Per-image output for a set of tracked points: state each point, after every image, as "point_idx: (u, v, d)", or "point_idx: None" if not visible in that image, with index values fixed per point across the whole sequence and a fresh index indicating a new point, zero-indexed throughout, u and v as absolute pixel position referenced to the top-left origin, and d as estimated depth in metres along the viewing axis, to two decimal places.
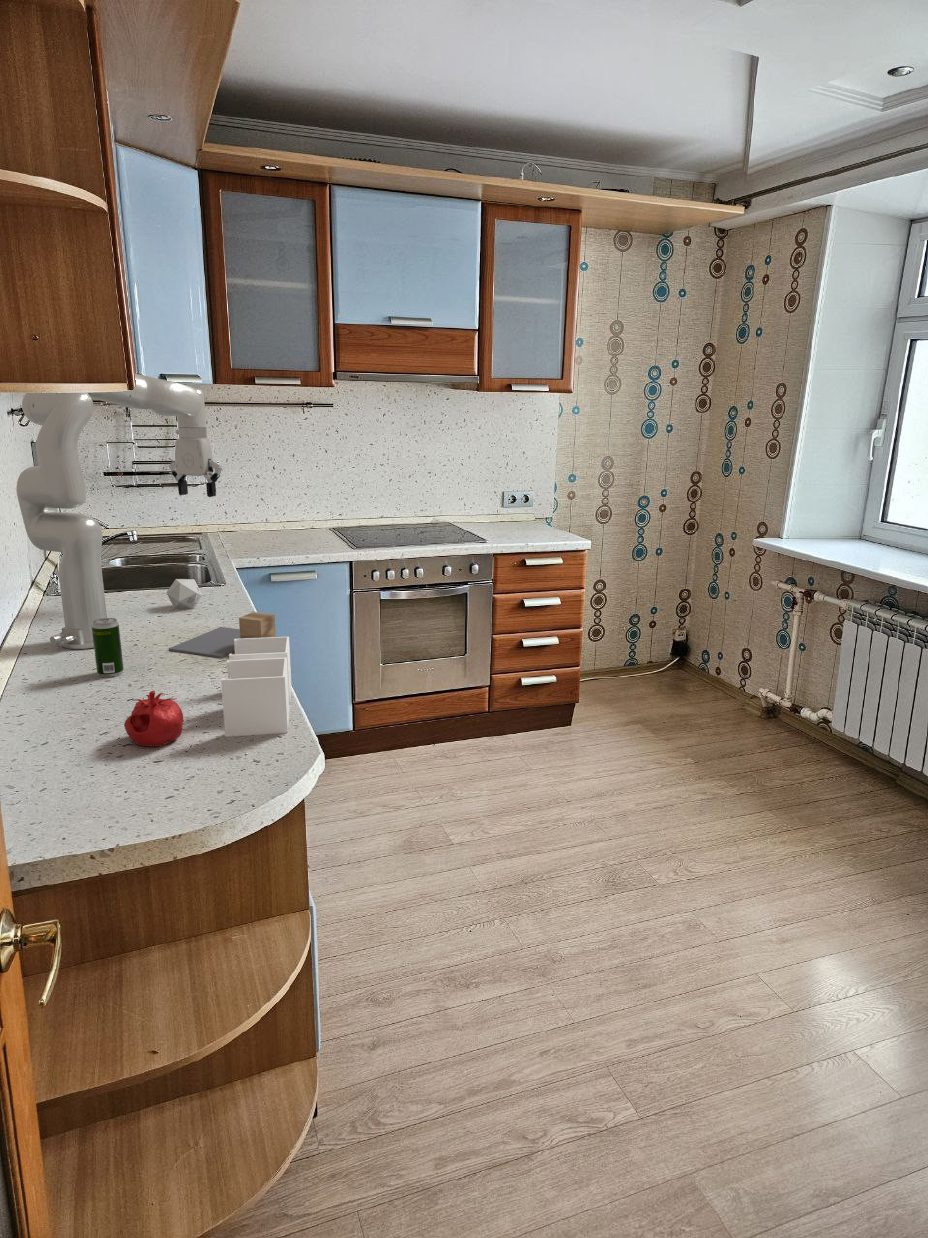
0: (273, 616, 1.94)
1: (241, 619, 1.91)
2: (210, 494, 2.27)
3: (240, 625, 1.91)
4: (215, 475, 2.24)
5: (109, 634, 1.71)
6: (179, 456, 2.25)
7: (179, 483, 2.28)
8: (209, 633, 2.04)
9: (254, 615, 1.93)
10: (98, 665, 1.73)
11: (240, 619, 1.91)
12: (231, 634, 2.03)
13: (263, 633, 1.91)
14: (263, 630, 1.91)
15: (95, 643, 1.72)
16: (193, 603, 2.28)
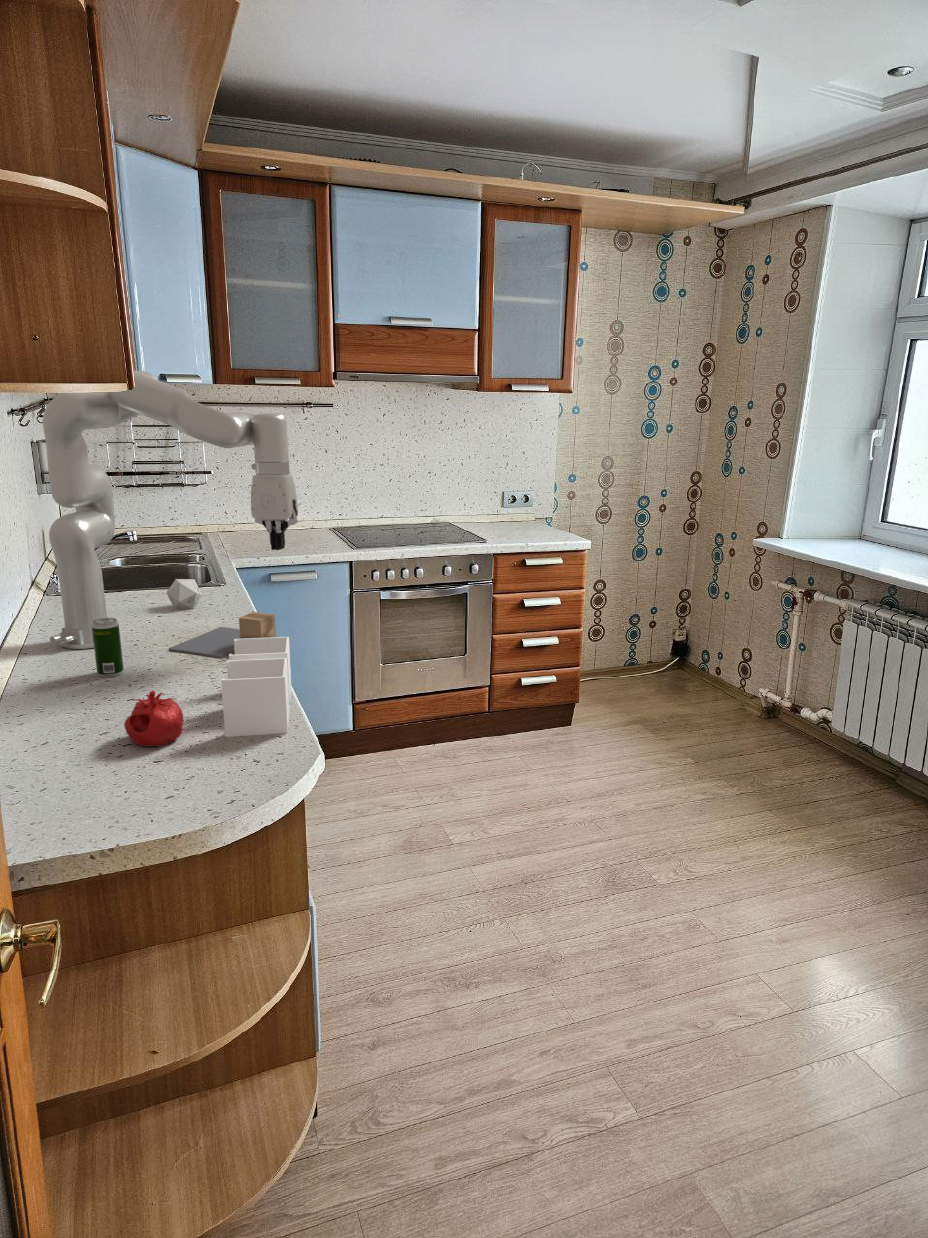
0: (273, 616, 1.94)
1: (241, 619, 1.91)
2: (278, 547, 1.86)
3: (240, 625, 1.91)
4: (285, 524, 1.84)
5: (109, 634, 1.71)
6: (256, 497, 1.83)
7: (272, 535, 1.85)
8: (209, 633, 2.04)
9: (254, 615, 1.93)
10: (98, 665, 1.73)
11: (240, 619, 1.91)
12: (231, 634, 2.03)
13: (263, 633, 1.91)
14: (263, 630, 1.91)
15: (95, 643, 1.72)
16: (193, 603, 2.28)
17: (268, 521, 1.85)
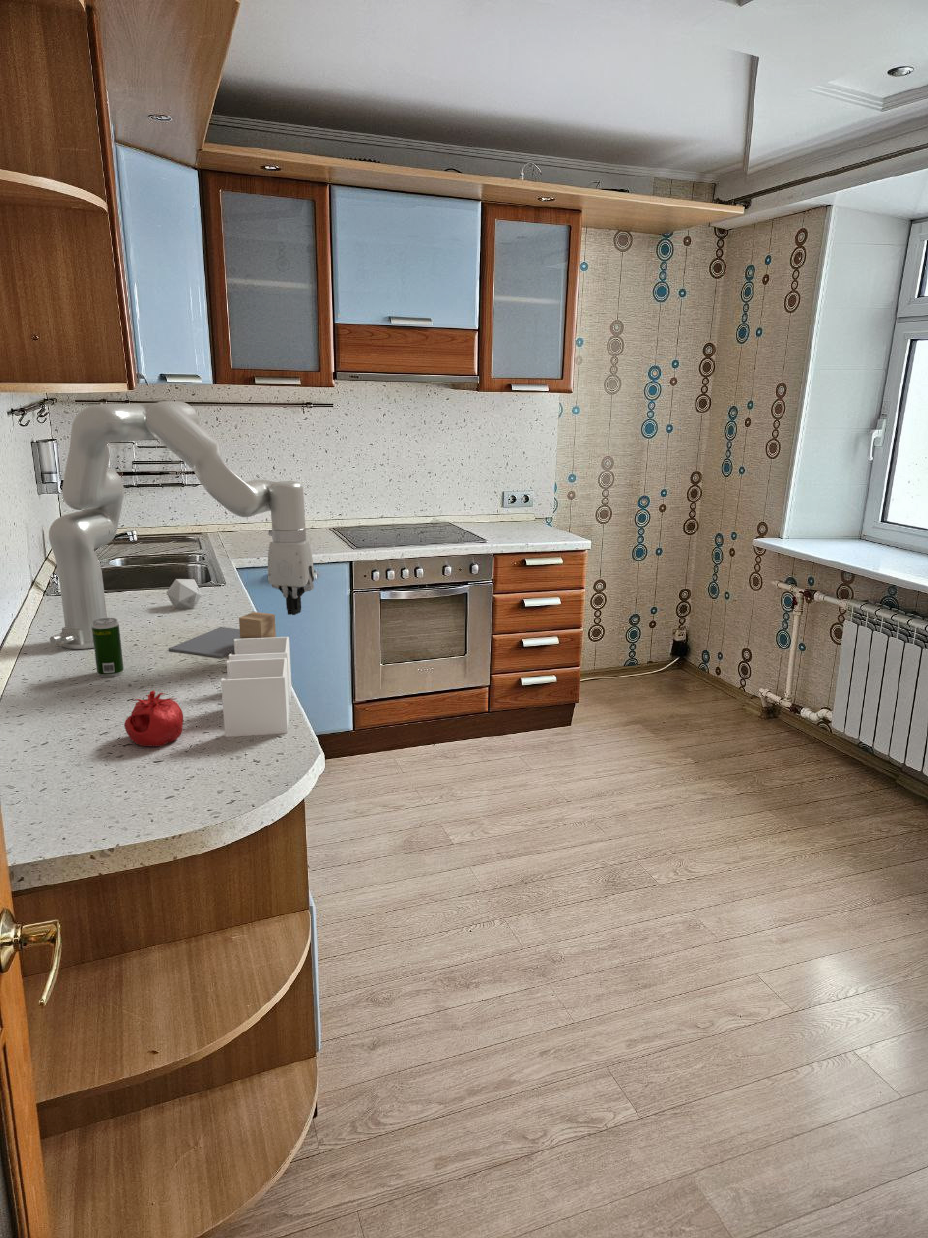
0: (273, 616, 1.94)
1: (241, 619, 1.91)
2: (295, 612, 1.88)
3: (240, 625, 1.91)
4: (301, 590, 1.85)
5: (109, 634, 1.71)
6: (273, 563, 1.84)
7: (288, 601, 1.87)
8: (209, 633, 2.04)
9: (254, 615, 1.93)
10: (98, 665, 1.73)
11: (240, 619, 1.91)
12: (231, 634, 2.03)
13: (263, 633, 1.91)
14: (263, 630, 1.91)
15: (95, 643, 1.72)
16: (193, 603, 2.28)
17: (285, 587, 1.86)
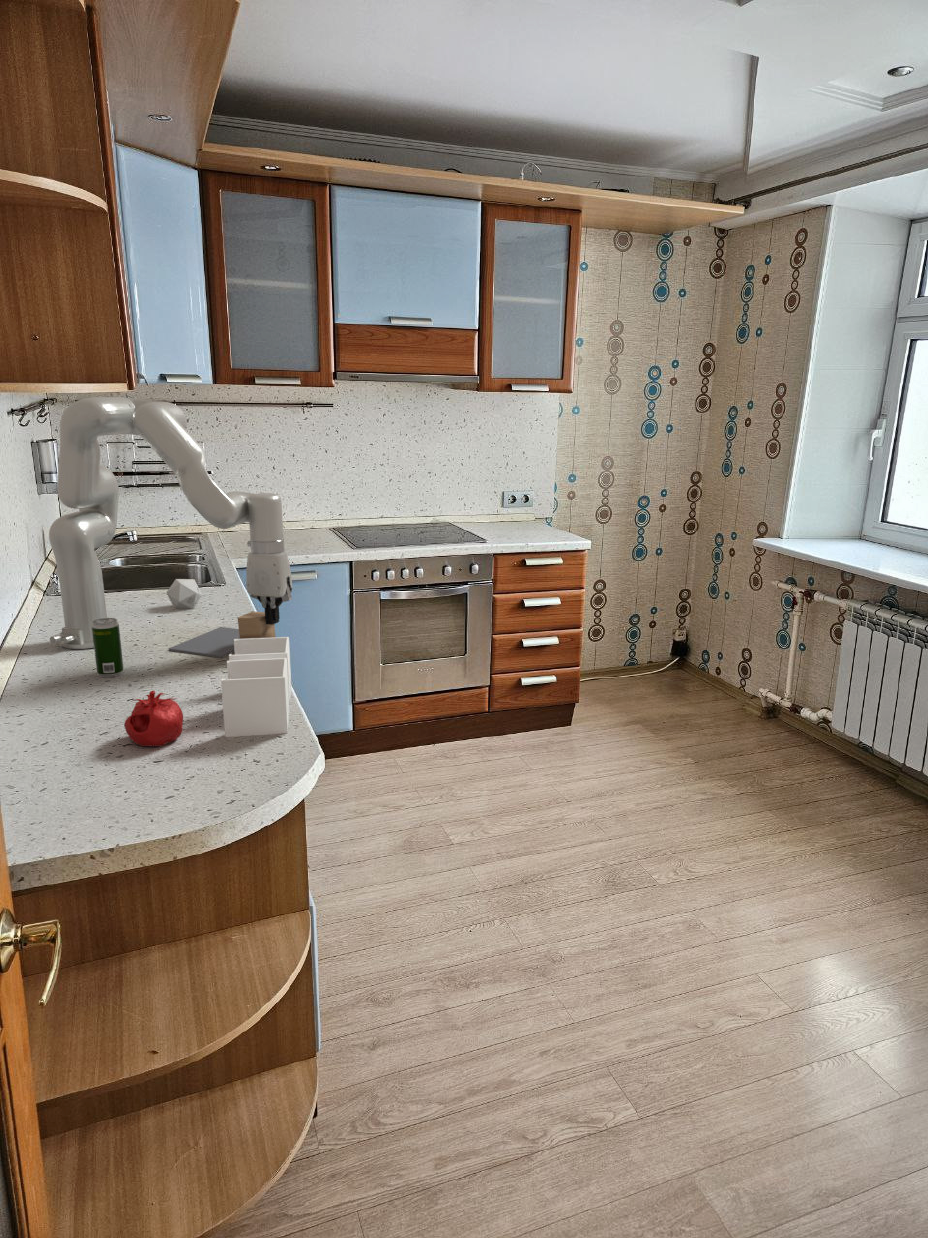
0: None
1: (240, 619, 1.91)
2: (273, 621, 1.90)
3: (239, 625, 1.91)
4: (279, 600, 1.88)
5: (109, 634, 1.71)
6: (252, 574, 1.87)
7: (267, 611, 1.89)
8: (209, 633, 2.04)
9: (252, 614, 1.93)
10: (98, 665, 1.73)
11: (239, 619, 1.91)
12: (231, 634, 2.03)
13: (263, 631, 1.91)
14: (262, 628, 1.91)
15: (95, 643, 1.72)
16: (193, 603, 2.28)
17: (263, 597, 1.89)
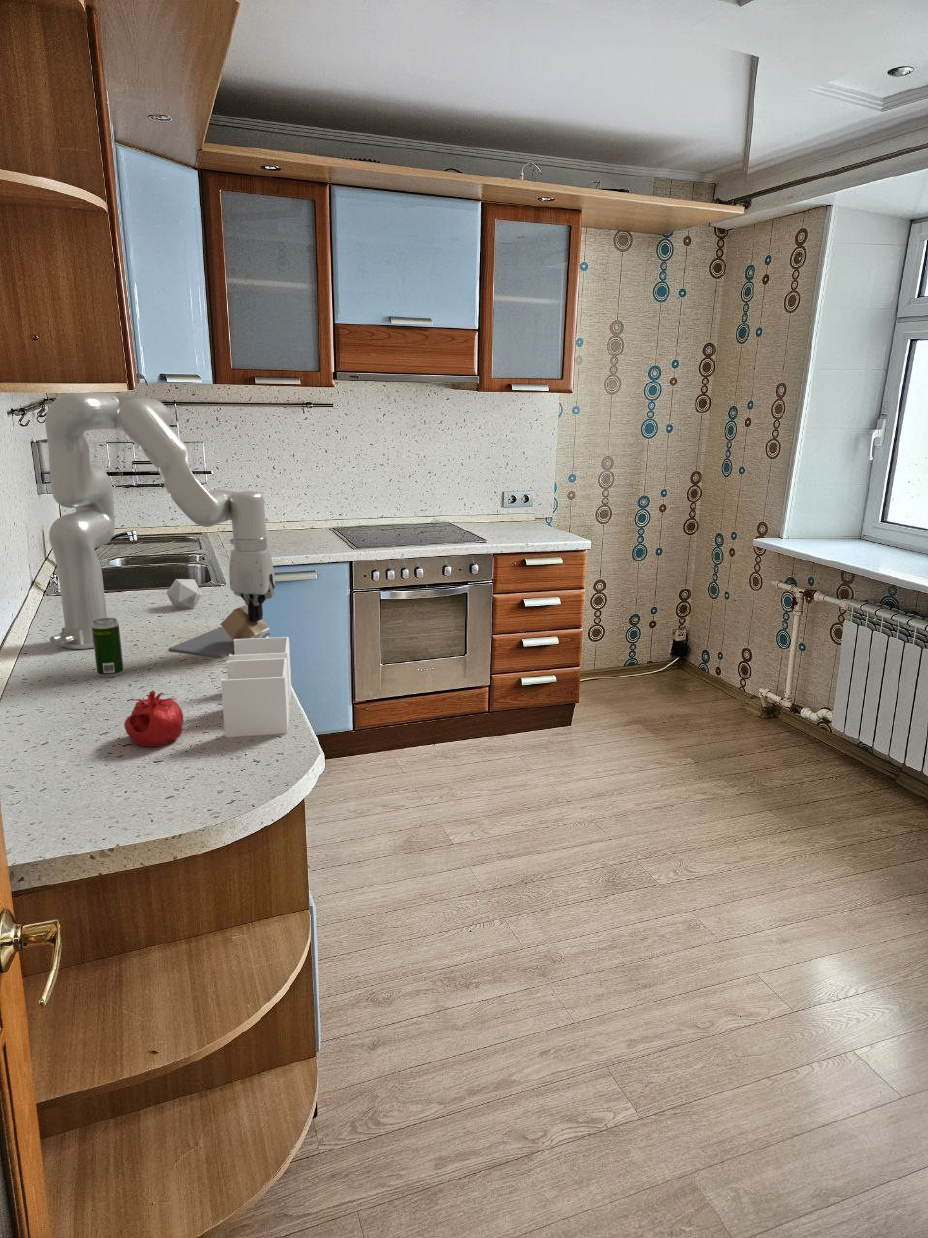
0: None
1: (222, 623, 1.93)
2: (256, 618, 1.92)
3: (225, 629, 1.93)
4: (262, 597, 1.90)
5: (109, 634, 1.71)
6: (234, 571, 1.88)
7: (250, 608, 1.91)
8: (209, 633, 2.04)
9: None
10: (98, 665, 1.73)
11: (222, 624, 1.93)
12: None
13: (246, 619, 1.92)
14: (244, 616, 1.92)
15: (95, 643, 1.72)
16: (193, 603, 2.28)
17: (246, 594, 1.91)
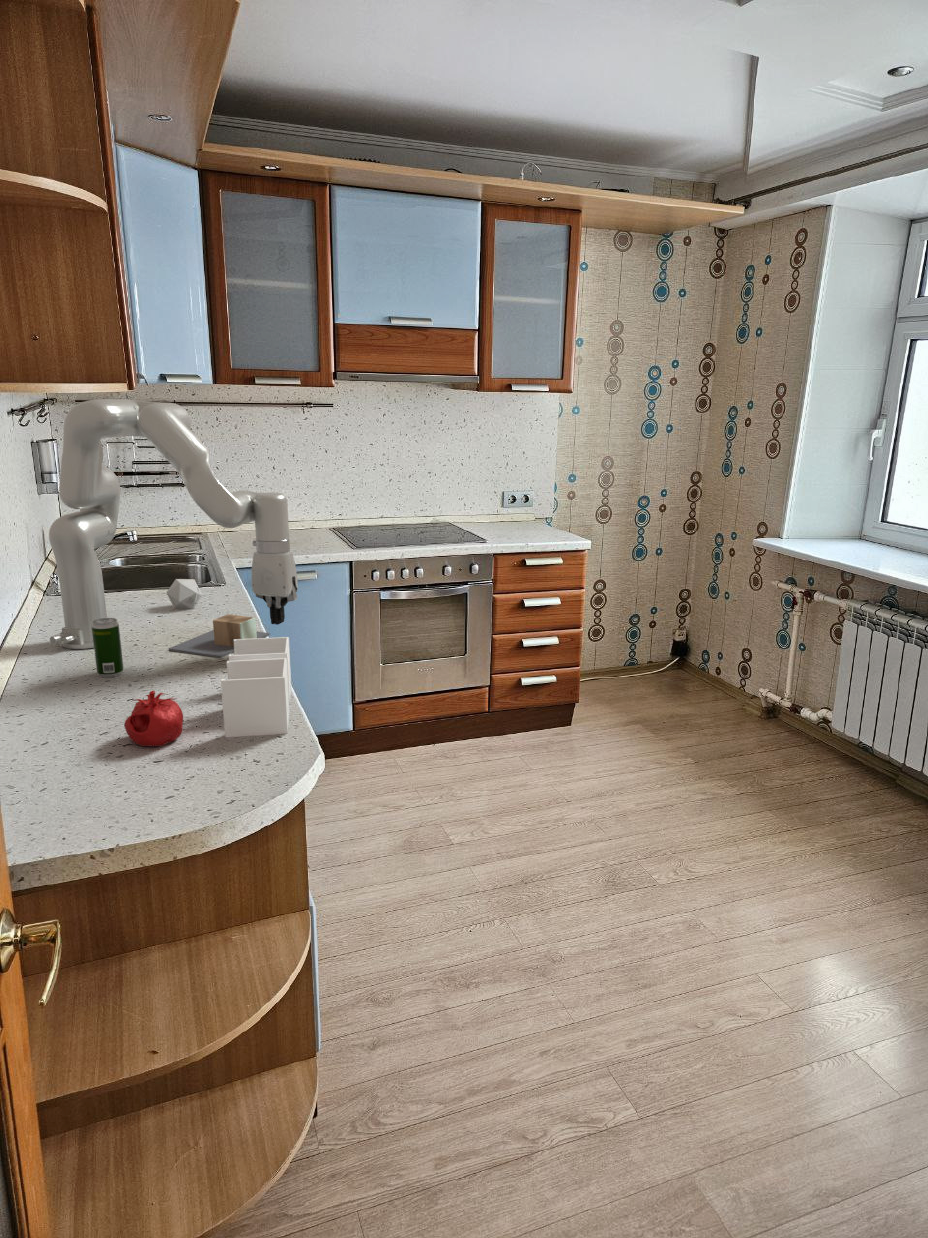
0: (227, 615, 1.98)
1: (215, 641, 1.95)
2: (278, 621, 1.90)
3: (220, 643, 1.95)
4: (285, 600, 1.88)
5: (109, 634, 1.71)
6: (257, 573, 1.86)
7: (272, 610, 1.89)
8: (209, 633, 2.04)
9: None
10: (98, 665, 1.73)
11: (215, 642, 1.95)
12: None
13: (227, 620, 1.94)
14: (225, 620, 1.94)
15: (95, 643, 1.72)
16: (193, 603, 2.28)
17: (268, 596, 1.88)
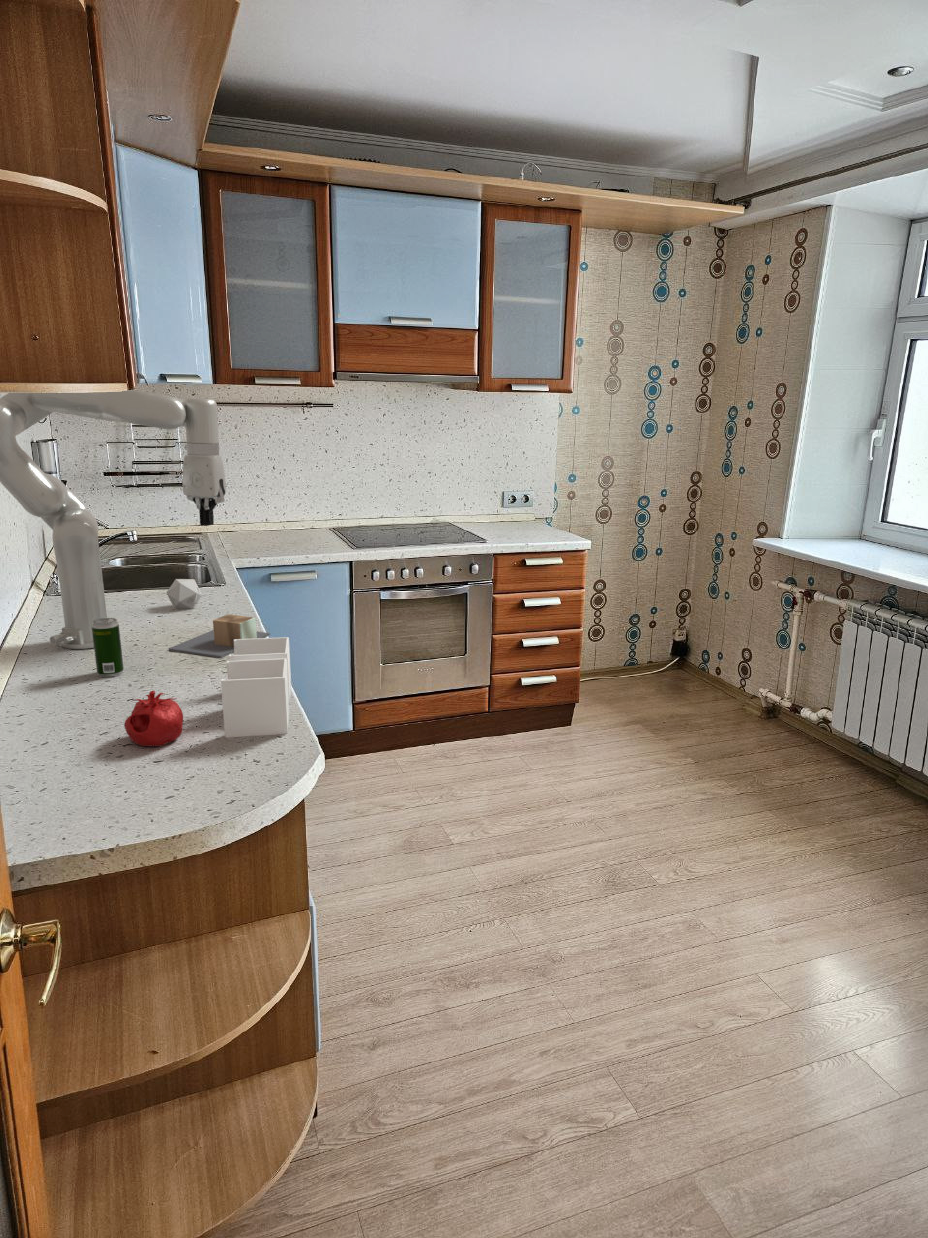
0: (227, 615, 1.98)
1: (215, 641, 1.95)
2: (207, 523, 2.00)
3: (220, 643, 1.95)
4: (212, 502, 1.98)
5: (109, 634, 1.71)
6: (187, 475, 1.97)
7: (201, 512, 1.99)
8: (209, 633, 2.04)
9: None
10: (98, 665, 1.73)
11: (215, 642, 1.95)
12: None
13: (227, 620, 1.94)
14: (225, 620, 1.94)
15: (95, 643, 1.72)
16: (193, 603, 2.28)
17: (198, 498, 1.99)
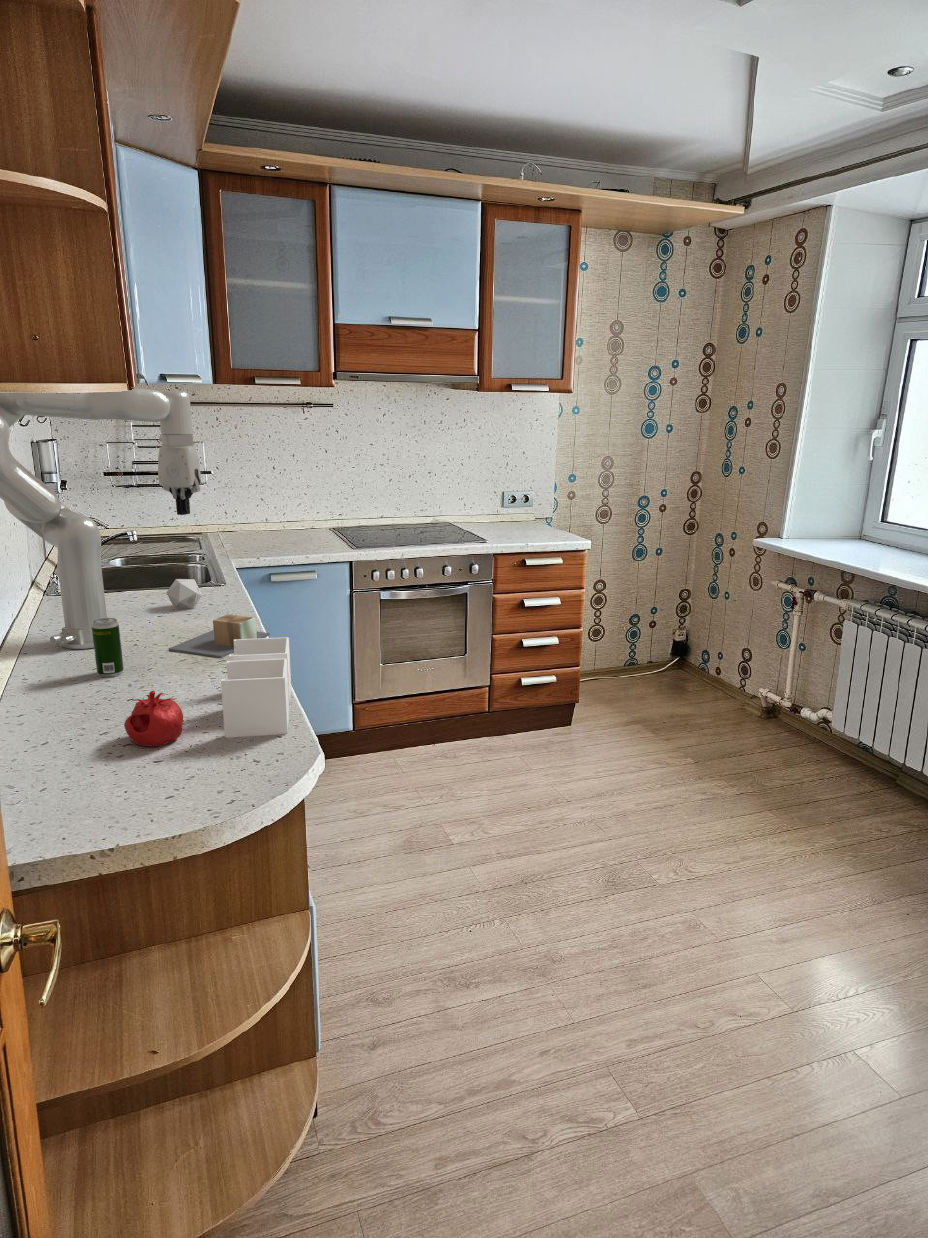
0: (227, 615, 1.98)
1: (215, 641, 1.95)
2: (183, 512, 2.06)
3: (220, 643, 1.95)
4: (188, 491, 2.04)
5: (109, 634, 1.71)
6: (162, 466, 2.03)
7: (177, 501, 2.05)
8: (209, 633, 2.04)
9: None
10: (98, 665, 1.73)
11: (215, 642, 1.95)
12: None
13: (227, 620, 1.94)
14: (225, 620, 1.94)
15: (95, 643, 1.72)
16: (193, 603, 2.28)
17: (174, 488, 2.05)
